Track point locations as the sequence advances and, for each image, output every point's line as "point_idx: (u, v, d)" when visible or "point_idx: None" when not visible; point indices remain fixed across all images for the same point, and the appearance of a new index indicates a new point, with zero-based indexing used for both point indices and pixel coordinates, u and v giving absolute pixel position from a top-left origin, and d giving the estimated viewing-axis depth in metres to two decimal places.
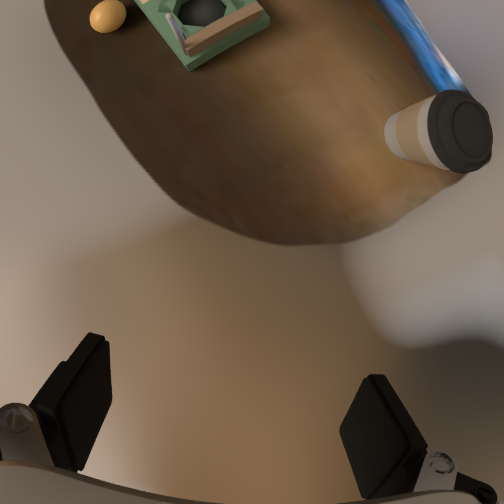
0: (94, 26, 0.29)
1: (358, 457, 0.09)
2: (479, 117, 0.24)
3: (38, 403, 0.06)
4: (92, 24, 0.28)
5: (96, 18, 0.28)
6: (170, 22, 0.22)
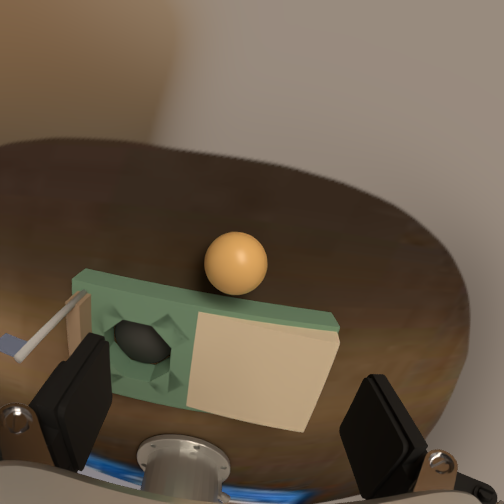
0: (230, 239, 0.24)
1: (358, 457, 0.09)
2: None
3: (38, 403, 0.06)
4: (236, 240, 0.24)
5: (230, 254, 0.23)
6: (22, 347, 0.15)
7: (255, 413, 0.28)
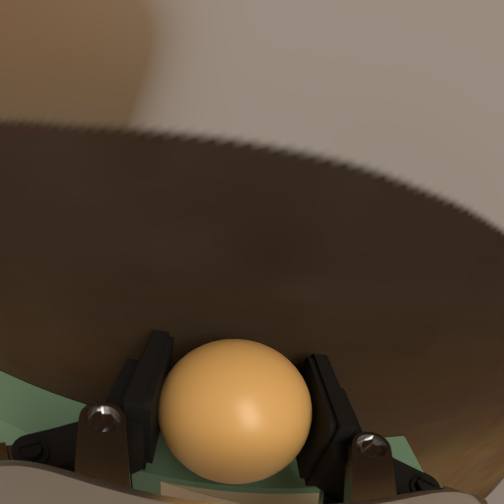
0: (218, 382, 0.08)
1: None
2: None
3: (125, 399, 0.07)
4: (235, 385, 0.08)
5: (217, 432, 0.07)
6: None
7: None
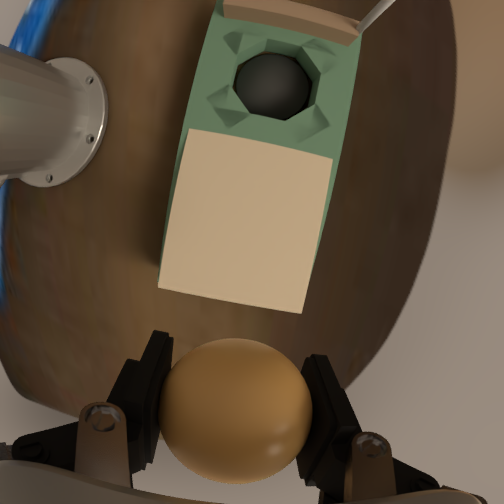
0: (218, 381, 0.08)
1: None
2: None
3: (125, 400, 0.07)
4: (236, 385, 0.08)
5: (217, 431, 0.07)
6: None
7: (188, 221, 0.23)
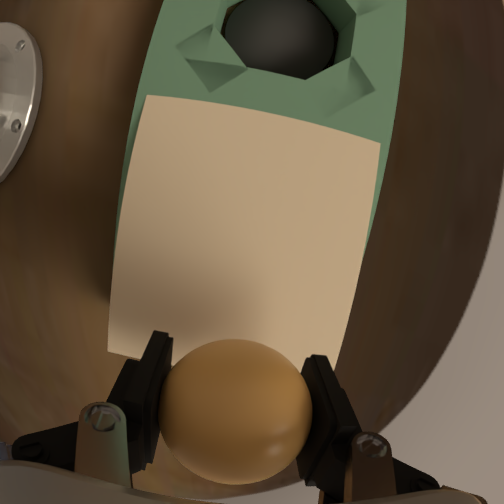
0: (218, 381, 0.08)
1: None
2: None
3: (125, 399, 0.07)
4: (236, 385, 0.08)
5: (217, 432, 0.07)
6: None
7: (146, 249, 0.13)
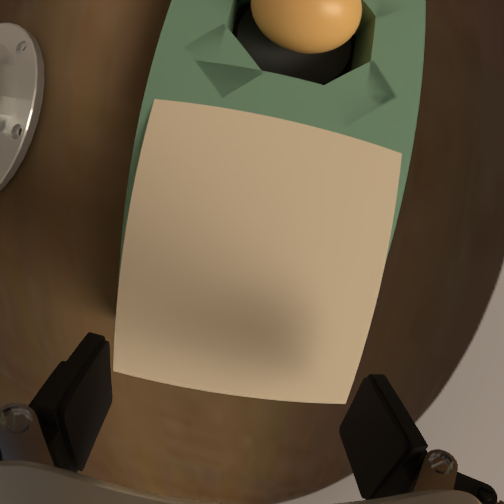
0: None
1: (358, 457, 0.09)
2: None
3: (38, 403, 0.06)
4: None
5: None
6: None
7: (154, 265, 0.12)
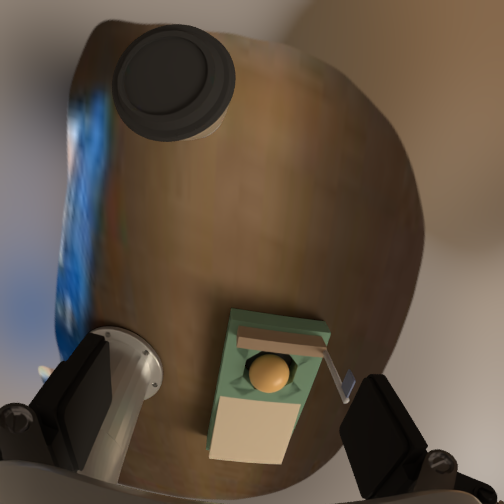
0: (267, 367, 0.36)
1: (358, 457, 0.09)
2: (134, 80, 0.18)
3: (38, 403, 0.06)
4: (271, 368, 0.36)
5: (266, 378, 0.35)
6: None
7: (223, 435, 0.39)
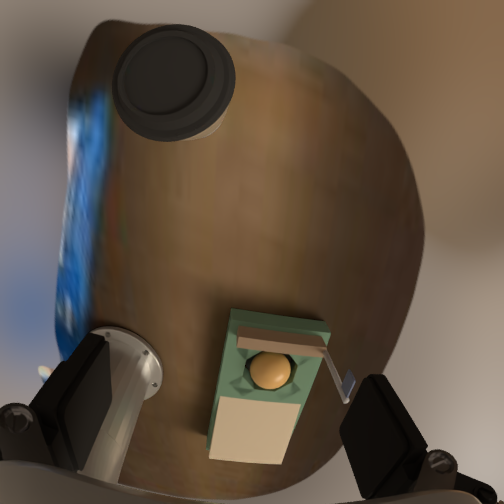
0: (268, 358, 0.36)
1: (358, 457, 0.09)
2: (134, 80, 0.18)
3: (38, 403, 0.06)
4: (272, 359, 0.36)
5: (269, 369, 0.35)
6: None
7: (223, 435, 0.39)
